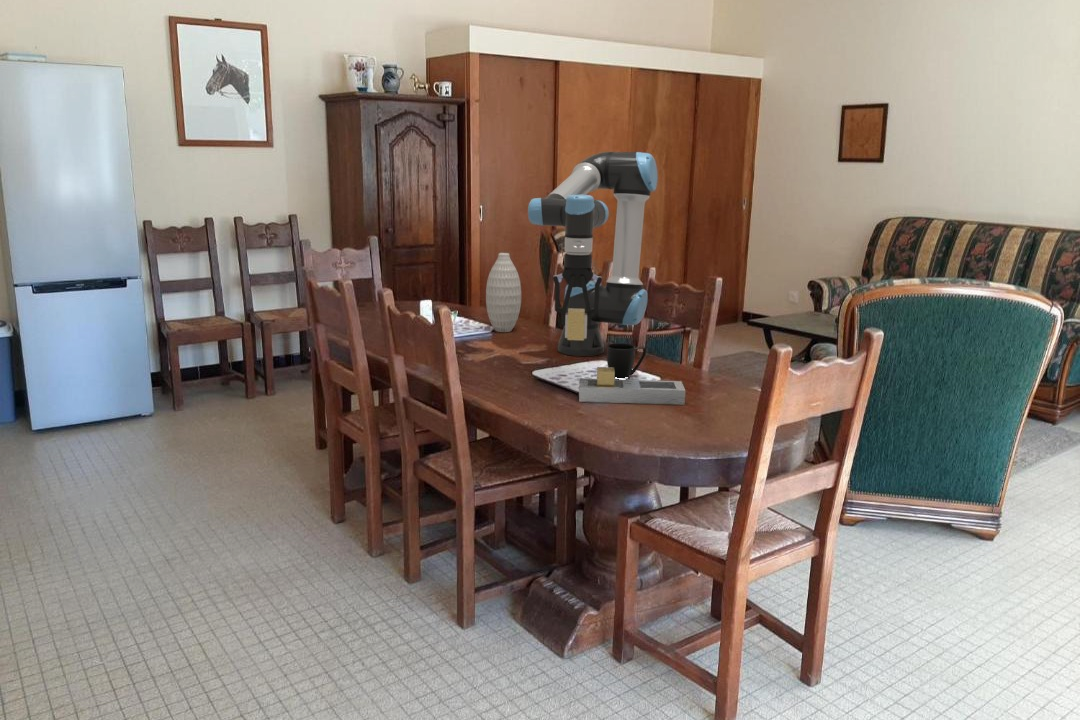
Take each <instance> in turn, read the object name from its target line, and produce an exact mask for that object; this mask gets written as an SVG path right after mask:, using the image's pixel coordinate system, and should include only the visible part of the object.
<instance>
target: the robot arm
mask: <svg viewBox="0 0 1080 720" xmlns="http://www.w3.org/2000/svg"><path fill="white" fill-rule="evenodd" d="M658 177H659V176H658V166H657V162H656V160H655V158H654V156H653V155H652V153H648V152H640V151H636V152H635V151H634V152H633V151H603V152H599V153H596V154H592V155H591V156H589V157H587V158H585V159H583V160H582V161H580V162H579V163H577V164H576V165H575V166H574V167H573V169H572V171H571V174H570V175H569V176H568V177H567V178H566V179H565V180H563V181H562V182H561V183H560V184H559V185H558V186H557V187H556V188H555V189H553V190H552V192H550V193H549V194H548V195H547V196H545V198H544V197H537V198H535V197H534V198H532V199H531V200H530V202H529V203H528V206H527V217H528V220H529V222H530V223H531V225H539V226H543V227H545V226H547V227H565V229H564V252H565V253H564V255H563V256H564V257H563V258H564V259H563V271H562V272H561V273H559V274H554V275H553V276H552V280H553V283H554V310H555V312H557V313H559V314H560V316H561V317H560V318H561V319H560V320H561V321H560V324H561V326H563V329H562V331H561V334H560V338H559V340H558V344H557V351H558V352H559V353H560V354H563V355H565V356H566V355H568V356H573V357H574V356H575V357H593V356H599V355H602V354H603V353H604V350H605V347H604V346H605V345H604V342H603V338H602V334H601V331H600V323H607V324H616V325H622V326H627V325H628V326H637V325H639V323H640V322H641V321H642V320H643V317H644V316H645V313H646V309H647V306H648V300H649V299H648V298H649V297H648V294H649V293H648V292H647V290H646V289H645V288H644V287H643V286H644V283H643V282H642V280H640V278H639V277H640V276H639V275H640V265H641V264H640V263H641V250H642V242H643V241H642V240H643V230H644V227H643V226H644V218H645V217H644V215H645V205H646V204H645V203H646V201H648V200H649V199H650V197H651V193H652V192H654V191H656V189H657V186H658ZM598 189H599V190H613V197H615V199H616V201H617V204H616V216H615V217H616V218H615V229H614V243H613V254H612V270H611V276H610V277H609V278H608V279H607V280H606V285H605V286H602V280H603V278H602V277H603V276H601V275H599V276H598V275H596V274H594V272H593V270H592V268H593V267H592V266H593V265H592V263H593V255H592V254H591V253H592V252H593V244H594V243H593V240H594V239H593V238H594V235H593V234H594V229H596V228H597V229H598V228H599V227H601V226H603V225H604V224H606V222H607V220H608V219H609V214H610V213H609V208H608V206H607V204H606V203H604V202H603V201H602V200H598V199H595V198H594V197H593V196H592V195H589V194H588V193H592V192H594V191H596V190H598ZM563 279H564V280H565V282H566V284H567V285H566V286H565V290H564V297H563V299H564V300H563V304H562V306H560V303H561V299H560V297H561V293H560V292H561V291H560V290H561V289H560V288H561V286H560V285H561V283H562V281H563ZM568 308H574V309H585V317H584V340H567V337H568Z"/></svg>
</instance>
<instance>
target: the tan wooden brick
mask: <svg viewBox="0 0 1080 720" xmlns="http://www.w3.org/2000/svg"><path fill="white" fill-rule="evenodd" d="M614 378H615V370H614V368H613V367H608V366H606V367H605V366H604V367H603V366H597V370H596V379H597V387H614Z"/></svg>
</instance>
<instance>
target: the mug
mask: <svg viewBox="0 0 1080 720" xmlns="http://www.w3.org/2000/svg"><path fill="white" fill-rule="evenodd" d="M639 350H642V354H641V356H640V358H639V360H638V361H637V363H636V365H635V366H634V364H635V358H636V351H639ZM646 354H647V348H646V347H644V346H635V345H632V344H630V343H626V342H625V343H623V342H617V343H616V342H614V343H610V344H609V343H608V344H607V346H606V362H607V363H606V364H607V367H613V368H614V370H615V377H617V378H625V377H629V376H630V377H631V376H632V375H634V374H635V372H636V371H637V370H638V368H639V366H640V365H641V364H642V363H643V360H644V358H645V357H646ZM630 377H629V378H630Z"/></svg>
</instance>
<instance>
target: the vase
mask: <svg viewBox="0 0 1080 720" xmlns="http://www.w3.org/2000/svg"><path fill="white" fill-rule="evenodd" d="M510 256H511V255H510V253H509V252H499V253H498V254H497V258H496V260H495V261H494V262H495V263H494V264H493V265H492V267H491V269H490V271H489V274H488V276H487V282H486V289H485V303H486V304H485V305H486V311H487V316H488V318H489V321H490V324H491V326H492V328H493V329H494V331H495V332H497V333H509V332H510V333H511V332H512V330H513V328H514V327H515V325H516V324H517V321H518V318H519V314H520V312H521V311H520V310H521V304H522V286H521V279H520V276H519V273H518V270H517V268H516V266H515V265H514V263H513V261H512V259H511V257H510Z"/></svg>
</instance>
